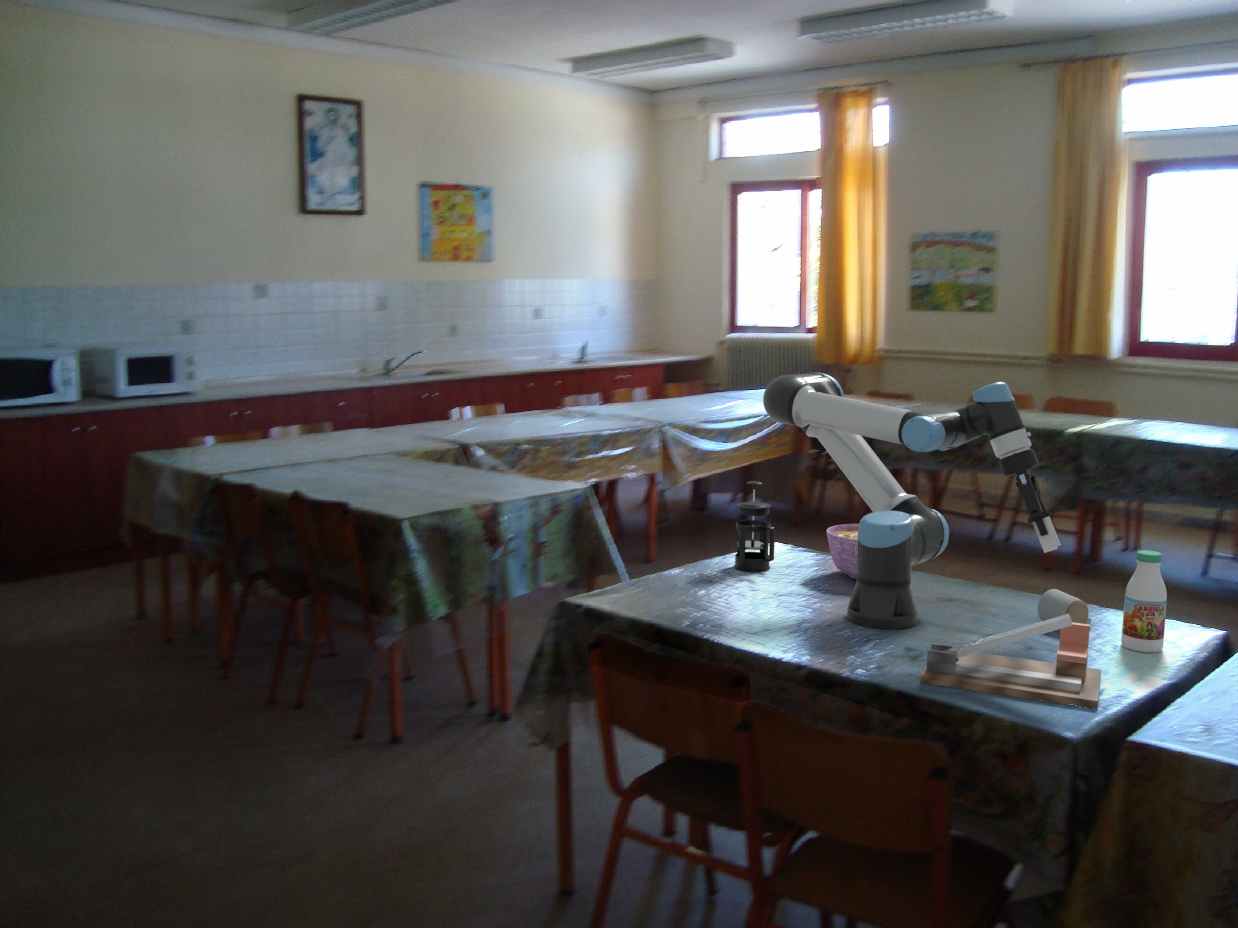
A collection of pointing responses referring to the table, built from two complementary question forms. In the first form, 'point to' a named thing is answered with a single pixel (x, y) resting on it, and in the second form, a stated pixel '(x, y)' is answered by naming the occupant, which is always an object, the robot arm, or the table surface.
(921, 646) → the table surface
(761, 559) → the french press
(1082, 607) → the ceramic mug
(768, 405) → the robot arm
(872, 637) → the table surface
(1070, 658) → the bracket
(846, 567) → the bowl of food
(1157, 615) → the milk bottle
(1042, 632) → the tong arm
